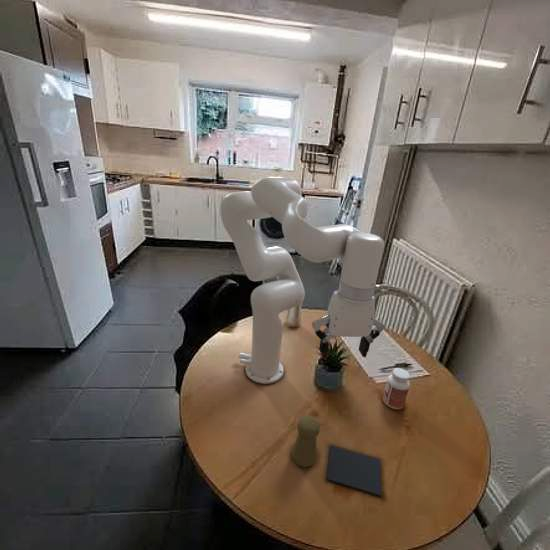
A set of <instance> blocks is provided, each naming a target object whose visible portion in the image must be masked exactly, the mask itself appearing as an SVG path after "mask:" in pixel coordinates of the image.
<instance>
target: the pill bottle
mask: <svg viewBox="0 0 550 550" xmlns="http://www.w3.org/2000/svg"><path fill="white" fill-rule="evenodd" d="M410 376H411V375H410V372H409V371H407V370H406V369H404V368H402V367H401V368H400V367H394V368H393V370H392V372H391V374H390V375H388V377H387V380H386V384H385V389H384V393H383V395H382V401H383V402H384V404H385V405H386V406H388V407H389V408H391V409H393V410H401V409H403V408H404V406H405V404H406V401H407V396H408V393H409V390H410V386H411V383H410Z"/></svg>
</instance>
